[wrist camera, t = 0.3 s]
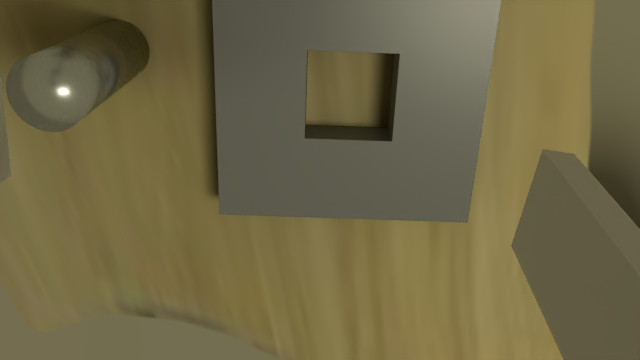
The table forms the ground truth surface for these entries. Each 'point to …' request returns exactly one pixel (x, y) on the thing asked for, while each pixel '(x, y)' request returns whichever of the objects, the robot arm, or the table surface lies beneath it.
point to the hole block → (340, 141)
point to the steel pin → (76, 75)
